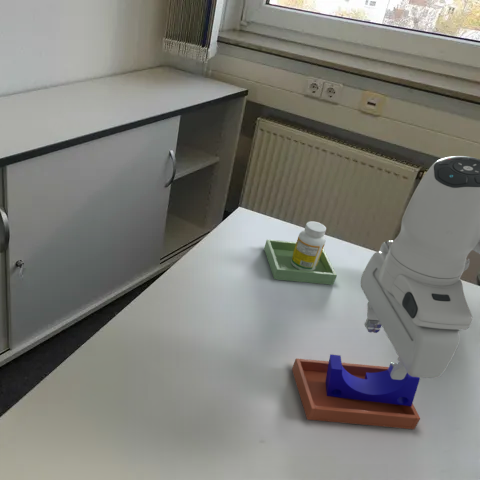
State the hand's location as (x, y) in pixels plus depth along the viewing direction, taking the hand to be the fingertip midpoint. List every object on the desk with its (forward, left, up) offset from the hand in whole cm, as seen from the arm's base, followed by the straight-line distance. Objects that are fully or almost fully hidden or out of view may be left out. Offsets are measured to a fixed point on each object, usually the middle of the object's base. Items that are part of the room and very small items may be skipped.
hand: (382, 351), depth 79 cm
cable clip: (-1, -1, -9) cm, 9 cm away
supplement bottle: (0, -36, -10) cm, 37 cm away
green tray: (+1, -36, -10) cm, 37 cm away
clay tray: (+1, 0, -10) cm, 11 cm away
